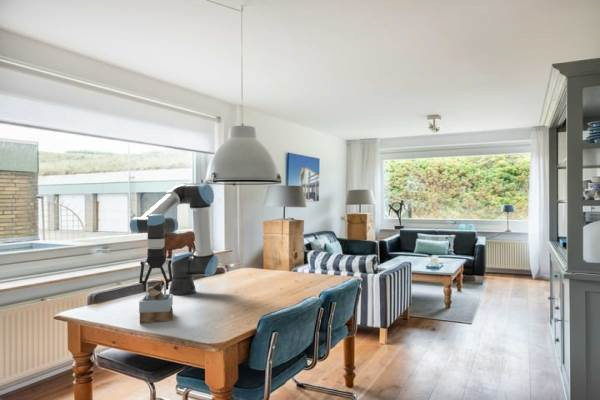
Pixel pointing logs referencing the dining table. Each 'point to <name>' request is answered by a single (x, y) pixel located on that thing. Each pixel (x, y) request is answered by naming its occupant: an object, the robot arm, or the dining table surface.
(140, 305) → the tower top
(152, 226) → the robot arm
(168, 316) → the tower base
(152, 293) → the rock
